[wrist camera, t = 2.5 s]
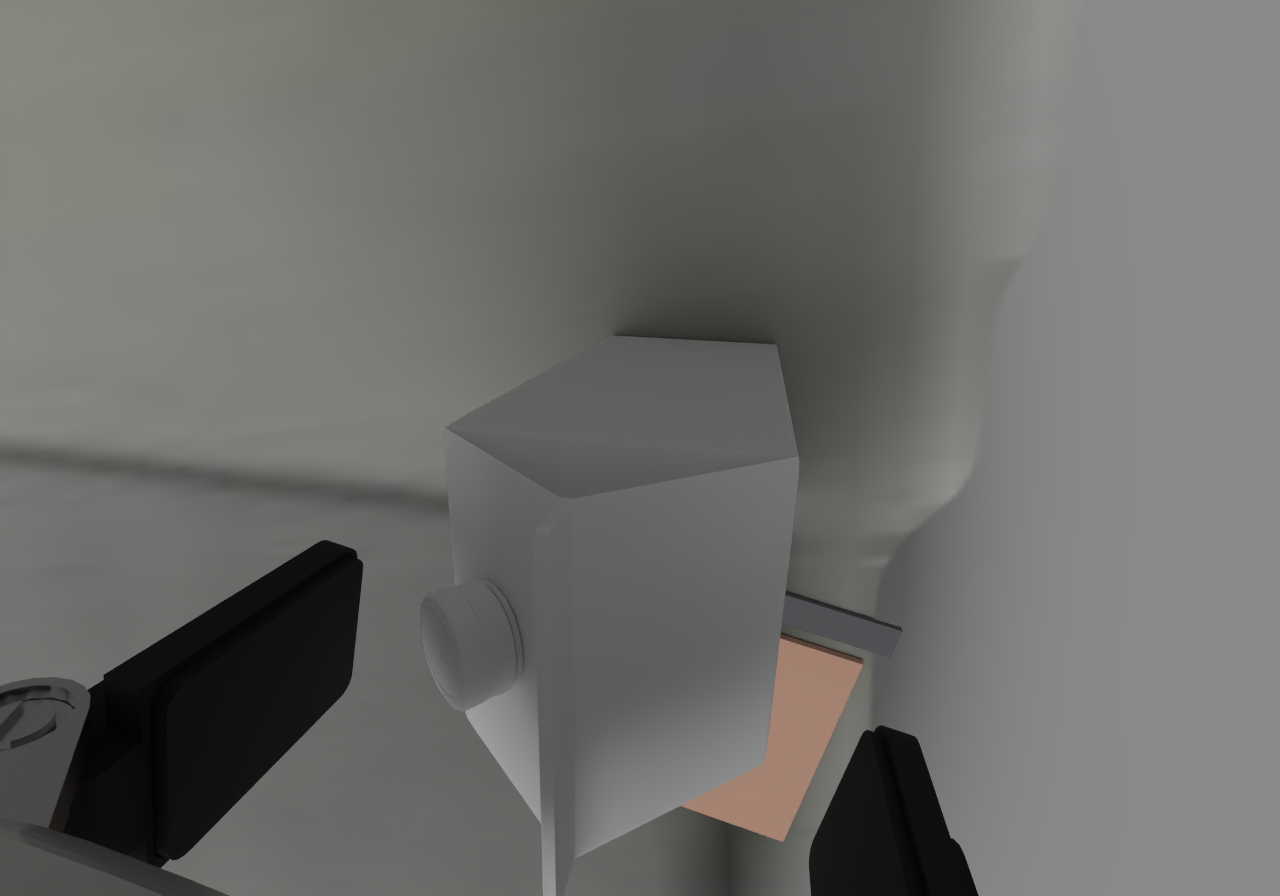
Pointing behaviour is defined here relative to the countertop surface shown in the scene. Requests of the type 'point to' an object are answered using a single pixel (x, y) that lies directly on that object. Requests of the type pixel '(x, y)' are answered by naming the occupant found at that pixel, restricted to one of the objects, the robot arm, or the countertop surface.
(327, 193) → the countertop surface
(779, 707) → the mat
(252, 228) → the countertop surface
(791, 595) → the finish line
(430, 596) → the milk carton
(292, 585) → the robot arm
